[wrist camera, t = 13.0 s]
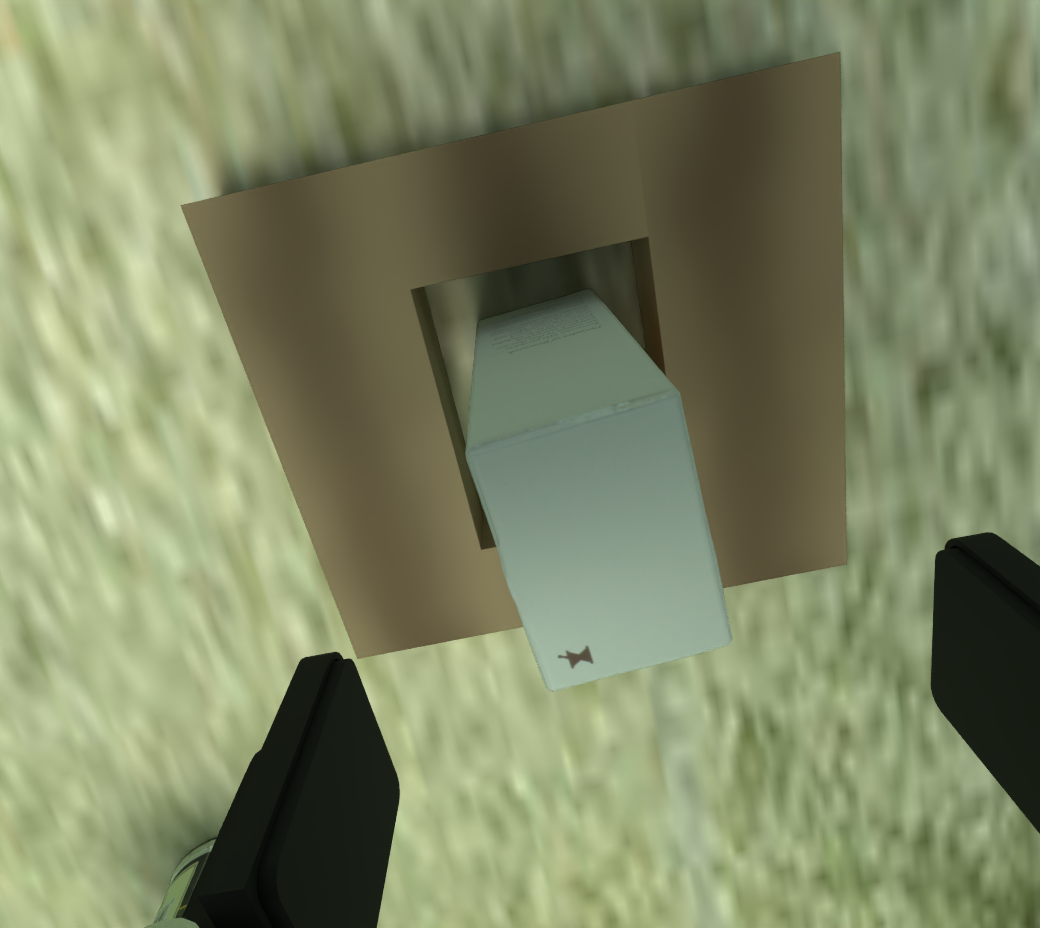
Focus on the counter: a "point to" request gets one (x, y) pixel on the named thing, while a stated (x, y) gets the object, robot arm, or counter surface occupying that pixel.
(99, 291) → the counter surface
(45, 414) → the counter surface
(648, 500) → the skincare box
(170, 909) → the coffee can
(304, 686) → the robot arm
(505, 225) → the brown wooden square frame
